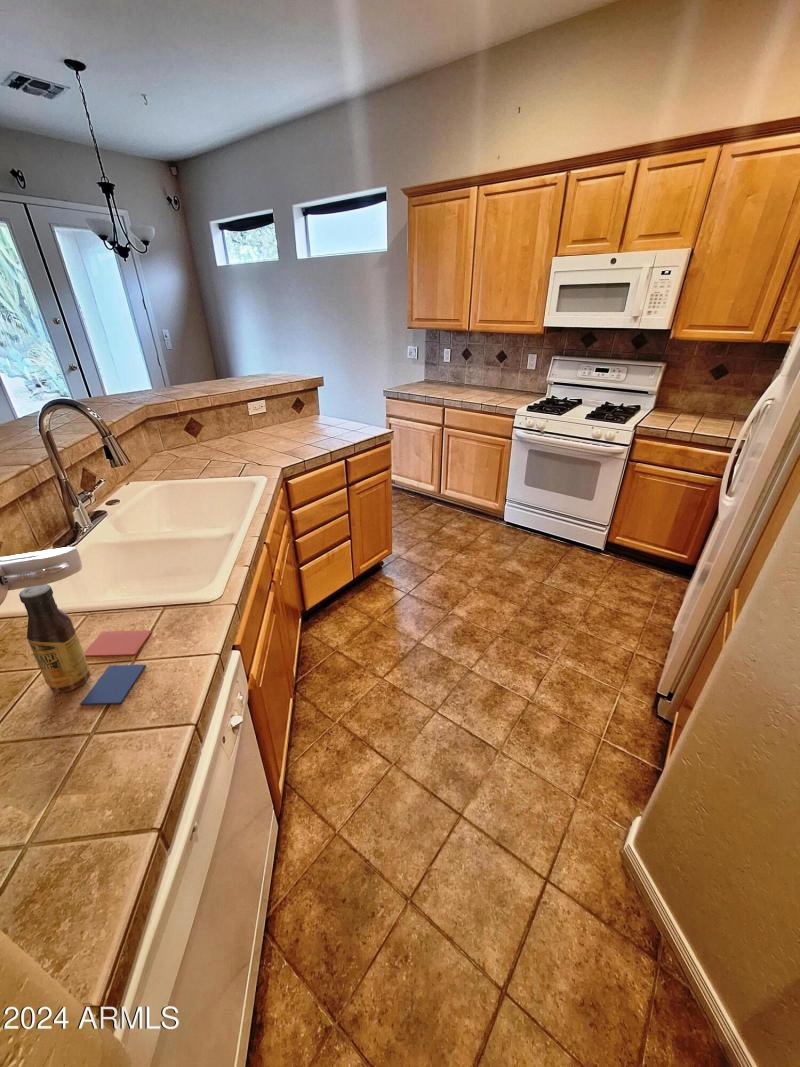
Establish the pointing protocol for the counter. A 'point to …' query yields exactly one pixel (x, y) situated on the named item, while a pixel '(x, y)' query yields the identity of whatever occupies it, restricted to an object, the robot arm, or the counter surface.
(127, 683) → the blue mat
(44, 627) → the sauce bottle
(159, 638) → the counter surface
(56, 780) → the counter surface
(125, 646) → the terracotta mat
